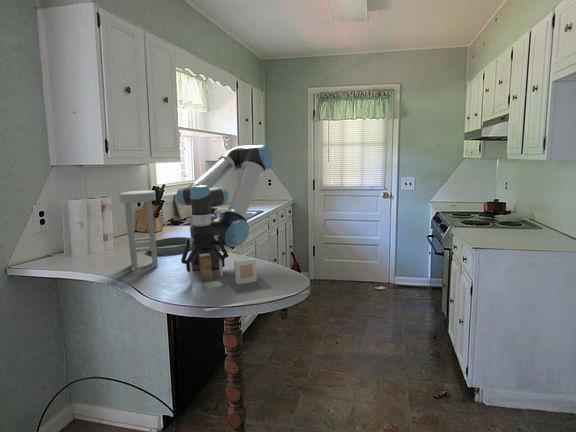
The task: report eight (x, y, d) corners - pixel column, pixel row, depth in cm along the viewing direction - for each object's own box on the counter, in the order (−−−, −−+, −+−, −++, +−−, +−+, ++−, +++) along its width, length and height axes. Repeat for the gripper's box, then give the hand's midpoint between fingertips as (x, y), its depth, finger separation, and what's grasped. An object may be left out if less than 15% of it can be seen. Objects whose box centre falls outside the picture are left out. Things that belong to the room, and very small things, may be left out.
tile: (235, 282, 163) (234, 260, 162) (255, 279, 166) (253, 257, 165) (237, 284, 161) (235, 262, 159) (256, 281, 164) (255, 259, 162)
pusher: (201, 280, 170) (199, 254, 168) (210, 278, 171) (208, 253, 170) (202, 283, 166) (200, 256, 164) (212, 281, 168) (210, 255, 166)
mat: (227, 284, 164) (227, 282, 164) (260, 278, 169) (260, 277, 169) (236, 296, 150) (236, 294, 150) (273, 289, 155) (273, 288, 155)
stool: (128, 263, 201) (120, 191, 195) (161, 259, 205) (154, 189, 200) (126, 272, 186) (118, 195, 180) (162, 267, 191) (155, 192, 185)
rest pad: (204, 285, 163) (204, 282, 163) (219, 282, 166) (219, 280, 165) (207, 290, 158) (207, 287, 158) (222, 287, 160) (222, 284, 160)
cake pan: (157, 245, 239) (156, 237, 238) (199, 243, 238) (198, 236, 237) (140, 256, 214) (139, 248, 214) (187, 255, 213) (186, 246, 213)
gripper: (172, 229, 157) (177, 284, 161) (233, 222, 166) (237, 275, 169) (170, 226, 164) (175, 278, 168) (229, 219, 173) (232, 270, 176)
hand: (206, 277), depth 168 cm, fingers open, 11 cm apart
